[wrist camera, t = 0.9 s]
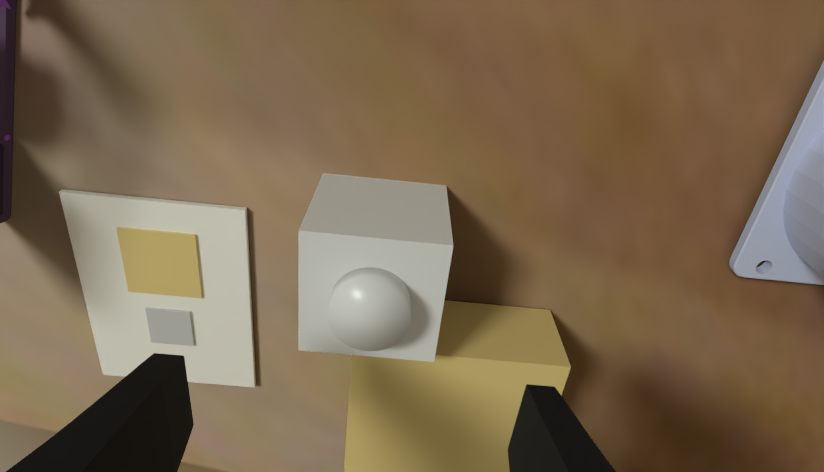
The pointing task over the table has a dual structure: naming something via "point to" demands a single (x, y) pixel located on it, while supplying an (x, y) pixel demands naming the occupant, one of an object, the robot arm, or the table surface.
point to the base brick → (453, 393)
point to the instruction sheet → (165, 283)
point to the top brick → (374, 267)
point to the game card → (6, 102)
